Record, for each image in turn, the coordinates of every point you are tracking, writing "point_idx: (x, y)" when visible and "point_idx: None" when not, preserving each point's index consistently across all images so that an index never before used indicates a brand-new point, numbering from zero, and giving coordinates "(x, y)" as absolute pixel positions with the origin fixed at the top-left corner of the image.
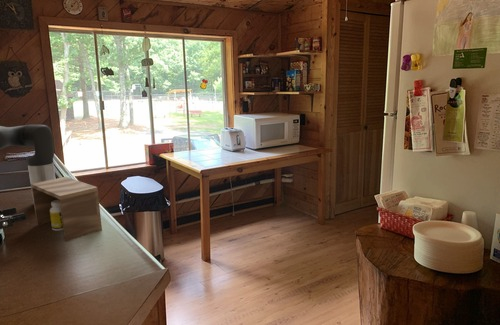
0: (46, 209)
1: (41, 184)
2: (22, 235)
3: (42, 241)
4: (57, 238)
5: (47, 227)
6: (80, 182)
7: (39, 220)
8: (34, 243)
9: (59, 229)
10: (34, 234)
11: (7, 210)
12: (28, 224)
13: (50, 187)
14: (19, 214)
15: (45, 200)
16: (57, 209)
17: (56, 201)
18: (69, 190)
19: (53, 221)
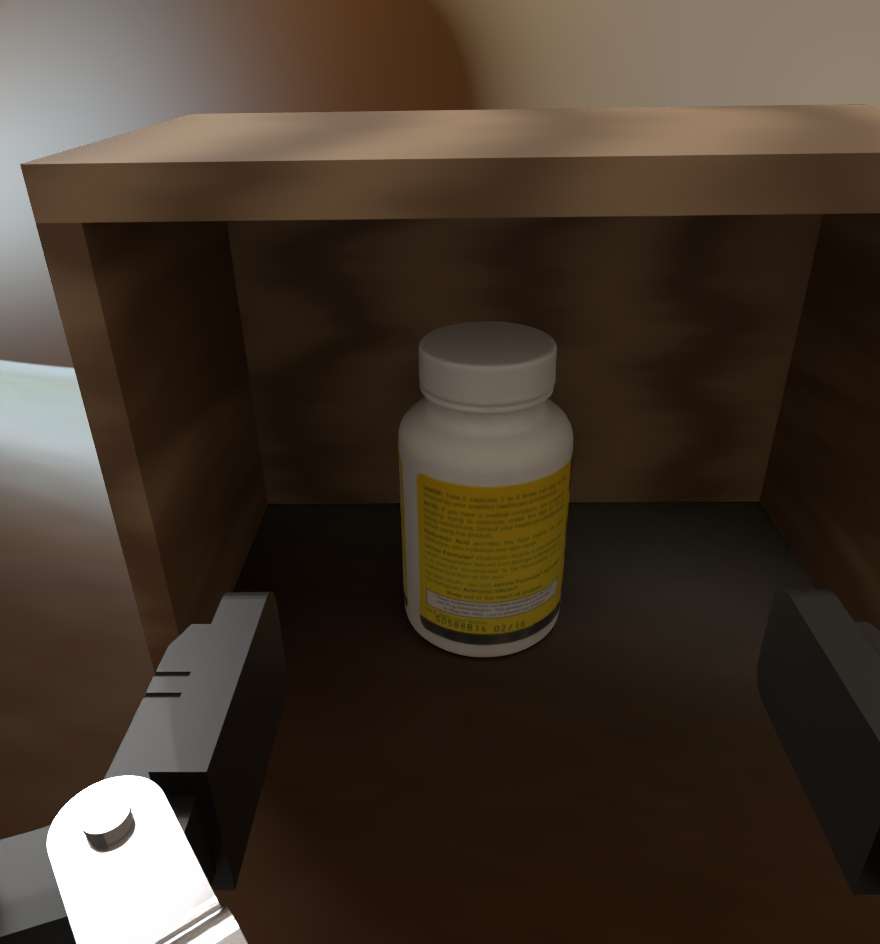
0: (196, 496)
1: (233, 149)
2: (329, 915)
3: (754, 831)
4: (759, 710)
5: (348, 664)
6: (556, 110)
7: None
8: (767, 918)
9: (552, 624)
10: (434, 808)
11: (238, 711)
12: (43, 740)
13: (511, 144)
14: (876, 654)
15: (178, 396)
16: (551, 428)
17: (480, 346)
18: (849, 128)
19: (517, 572)
